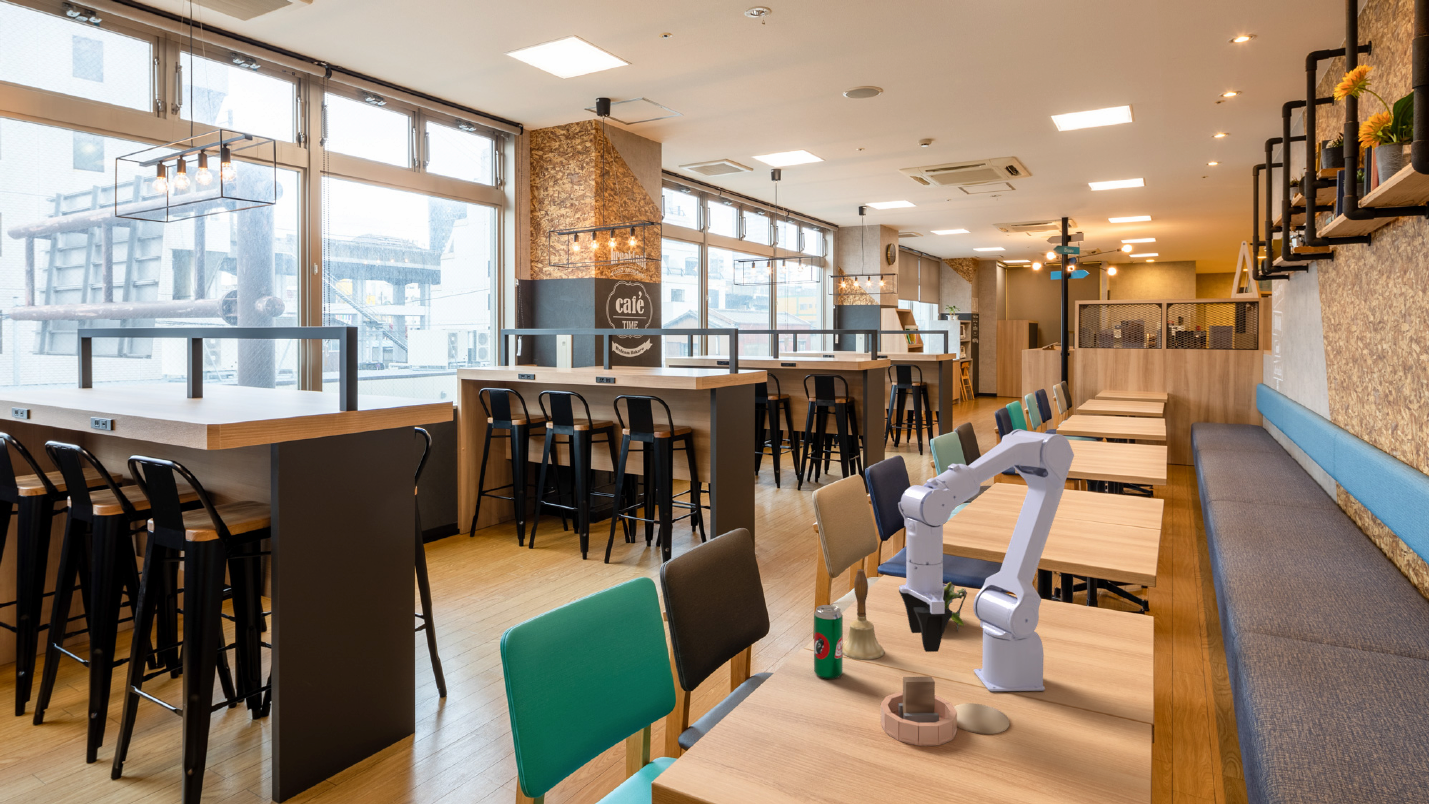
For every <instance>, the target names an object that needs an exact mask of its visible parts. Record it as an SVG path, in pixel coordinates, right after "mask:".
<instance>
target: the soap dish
mask: <svg viewBox="0 0 1429 804" xmlns="http://www.w3.org/2000/svg"><path fill="white" fill-rule="evenodd" d="M880 724H881V725H880V726H881V728H882V730H883V732H885V734H886V735H888V736H890V737H891V738H893V739H895V740H897V741H898V742H902V743H905V744H909V745H913V746H920V747H921V746H922V747H932V746H933V747H935V746H940V745H944V744H947V743H949V742H951V741H953V740H954V738H955V737H956V736H957V730H958V726H957V711H956V710H955V708H954V705H953V703H951V702H950V701H948V700H946V699H944V698H942V697H940V695H939V696H938V695H937V694H935V713H904V718H903V691H898V692H895V693H892V694H889V695H886V696H885V697H884V699H883V700H882V702H881V703H880Z"/></svg>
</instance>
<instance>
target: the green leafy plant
mask: <svg viewBox="0 0 1429 804" xmlns="http://www.w3.org/2000/svg"><path fill="white" fill-rule="evenodd" d="M943 587H944V596H943V600H944V602H945V609H950V604H951V603H953V601H954V600H956V599H962V600H961V601H960V602H961V603H960V606H959V607H958V610H957V611H953V610H951V611H952V617H951V618H950V620H952V621H953V622H954V623H956V632H957V631H958V632H959V626H962V627H964V626H965V623H964V621H963V620H962V618H961V609H962V607H963V605H964V601H965V600H966V598H967V595H968V592H967V590H966V588H963V587H961V588H960V589H957V590H956V592H955V588H956V586H955V585H954V584H953V583H952V581H949V582H948V583H943Z"/></svg>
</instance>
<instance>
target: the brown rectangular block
mask: <svg viewBox="0 0 1429 804" xmlns="http://www.w3.org/2000/svg"><path fill="white" fill-rule="evenodd" d="M935 685H936V682H935V680H934V678H933V677H932V676H903V677H902V692H903V718H904V713H935V695H936V694H935V693H936V688H935Z"/></svg>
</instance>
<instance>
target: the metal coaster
mask: <svg viewBox="0 0 1429 804" xmlns="http://www.w3.org/2000/svg"><path fill="white" fill-rule="evenodd" d="M953 707H954V708H955V710H956V711H957V728H959V729H962V730H964V731H967V732H970V733H974V734H981V735H994V734H1000V733H1003V732H1005V731H1006V730H1007V729H1009V726H1010V719H1009V717H1008V716H1007V715H1006V714H1005V713H1004V712H1002V711H1001V710H999V709H998V708H996V707H993V706H989V705H986V704H982V703H981V704H979V703H973V702H971V703H970V702H969V703H968V702H967V703H959V704H957V705H953Z"/></svg>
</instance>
